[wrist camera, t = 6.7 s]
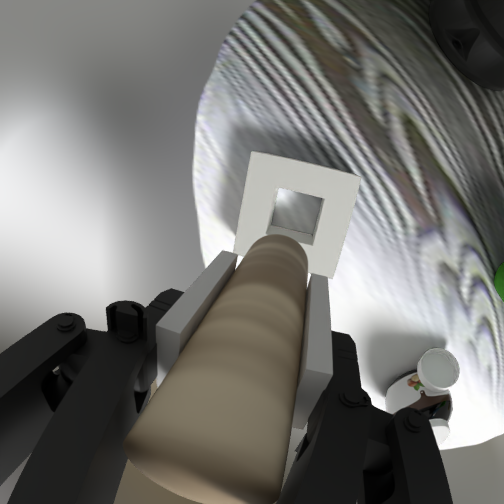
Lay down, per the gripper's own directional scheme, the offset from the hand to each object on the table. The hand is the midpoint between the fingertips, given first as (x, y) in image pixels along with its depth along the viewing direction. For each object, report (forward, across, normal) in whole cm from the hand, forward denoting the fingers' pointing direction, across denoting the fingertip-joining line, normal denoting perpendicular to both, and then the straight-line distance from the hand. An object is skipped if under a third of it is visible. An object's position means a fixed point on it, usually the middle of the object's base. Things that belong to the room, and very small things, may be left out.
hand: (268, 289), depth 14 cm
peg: (+3, 0, 0) cm, 3 cm away
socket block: (+20, 0, 0) cm, 20 cm away
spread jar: (+20, +25, -19) cm, 38 cm away
